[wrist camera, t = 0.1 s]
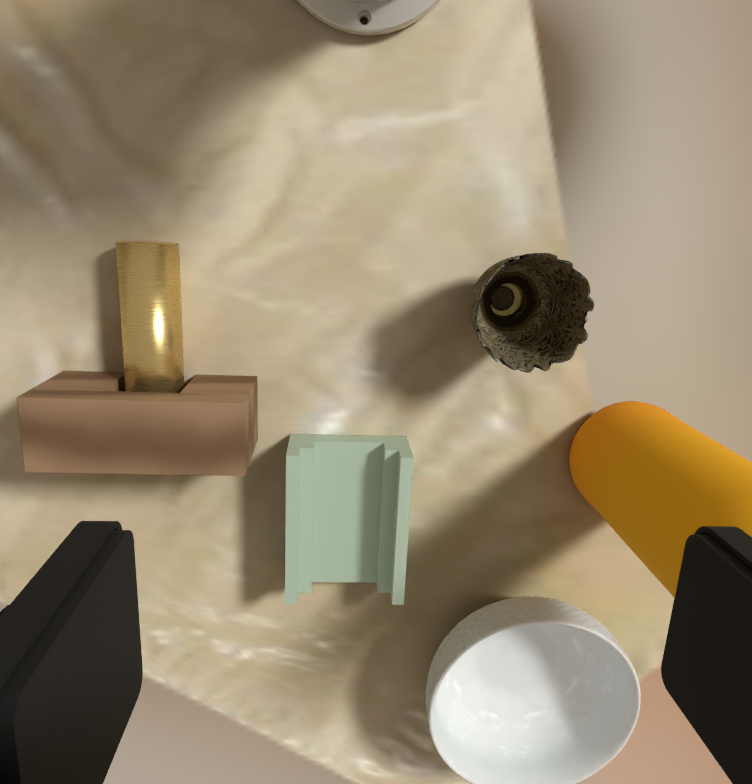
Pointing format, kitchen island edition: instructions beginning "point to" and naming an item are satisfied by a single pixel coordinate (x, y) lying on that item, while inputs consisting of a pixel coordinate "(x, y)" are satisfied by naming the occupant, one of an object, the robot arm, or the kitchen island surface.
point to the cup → (532, 311)
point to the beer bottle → (658, 482)
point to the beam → (138, 426)
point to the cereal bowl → (530, 694)
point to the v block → (347, 512)
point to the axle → (151, 316)
